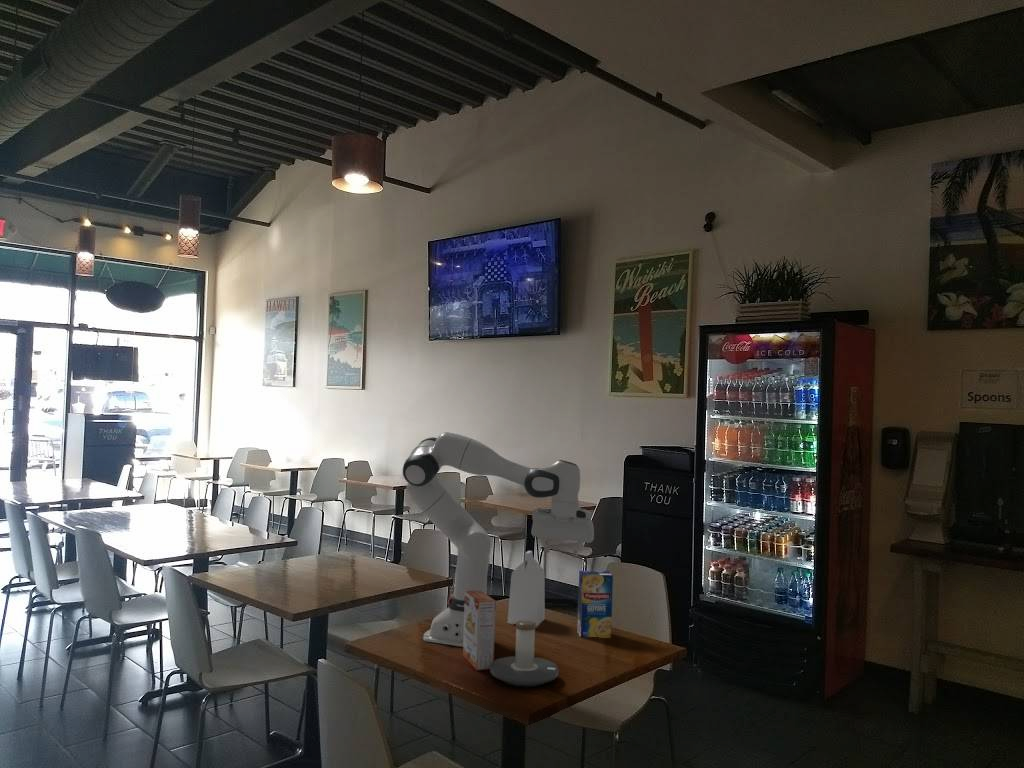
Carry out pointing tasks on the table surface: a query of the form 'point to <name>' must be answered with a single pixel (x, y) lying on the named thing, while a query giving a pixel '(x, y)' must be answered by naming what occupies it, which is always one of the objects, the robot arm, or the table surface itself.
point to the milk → (527, 592)
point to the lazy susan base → (522, 684)
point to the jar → (525, 644)
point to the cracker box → (479, 629)
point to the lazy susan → (524, 671)
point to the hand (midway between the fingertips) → (560, 553)
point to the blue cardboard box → (595, 604)
